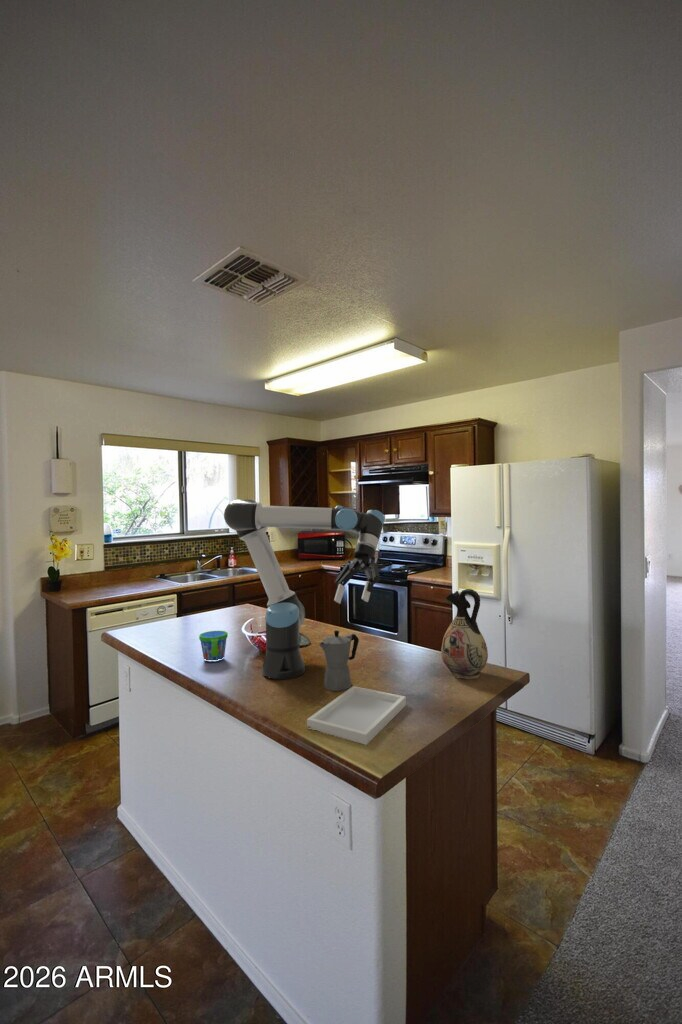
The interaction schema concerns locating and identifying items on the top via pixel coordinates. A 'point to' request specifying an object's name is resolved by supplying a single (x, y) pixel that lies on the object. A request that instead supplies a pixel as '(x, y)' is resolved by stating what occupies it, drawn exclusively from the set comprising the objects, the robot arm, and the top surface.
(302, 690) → the top surface
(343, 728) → the docking tray
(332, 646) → the coffeepot
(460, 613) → the ceramic jug
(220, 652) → the snack cup
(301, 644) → the lid
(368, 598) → the robot arm
